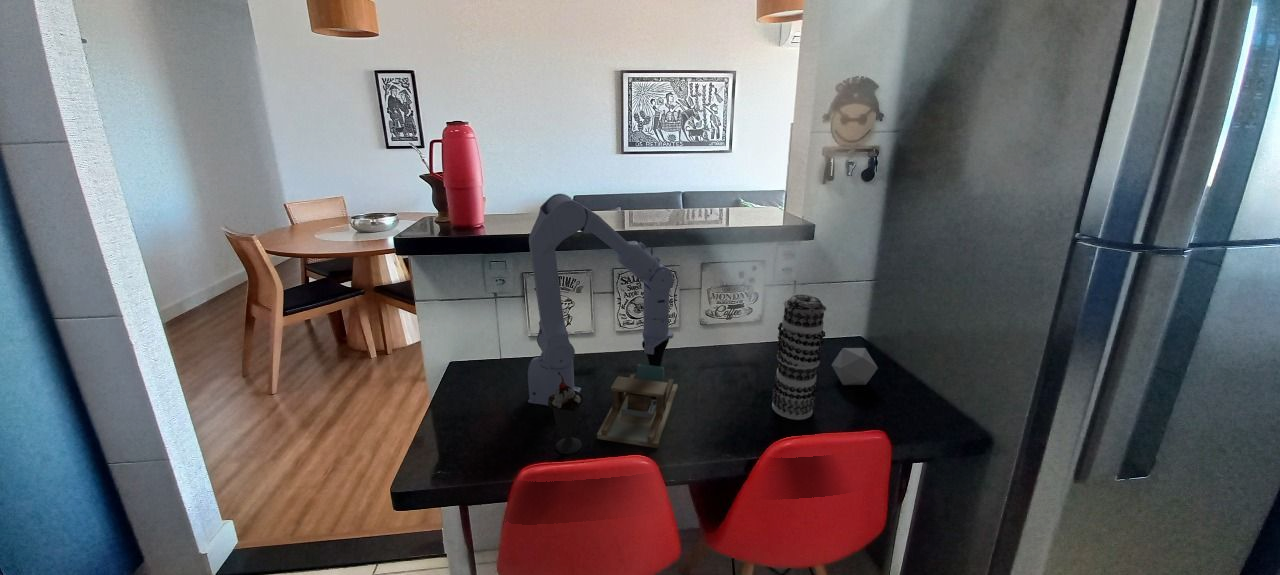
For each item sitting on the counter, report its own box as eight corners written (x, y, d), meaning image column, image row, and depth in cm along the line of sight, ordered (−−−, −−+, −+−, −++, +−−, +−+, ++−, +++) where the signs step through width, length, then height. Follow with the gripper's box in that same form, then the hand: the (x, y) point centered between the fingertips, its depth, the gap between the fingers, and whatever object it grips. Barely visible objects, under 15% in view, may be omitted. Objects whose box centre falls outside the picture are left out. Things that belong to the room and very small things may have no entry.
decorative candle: (766, 415, 105) (778, 303, 96) (773, 393, 113) (784, 288, 104) (812, 425, 101) (829, 310, 93) (815, 401, 110) (830, 294, 101)
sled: (621, 414, 103) (621, 394, 101) (637, 381, 115) (637, 363, 114) (651, 418, 101) (652, 399, 100) (664, 385, 114) (665, 367, 112)
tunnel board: (597, 438, 97) (596, 407, 95) (627, 381, 117) (626, 355, 115) (657, 448, 94) (658, 416, 92) (677, 388, 114) (678, 361, 112)
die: (864, 375, 122) (842, 339, 122) (891, 374, 113) (868, 336, 113) (840, 394, 119) (818, 358, 119) (867, 395, 111) (843, 357, 111)
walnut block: (627, 411, 103) (627, 394, 102) (632, 400, 107) (632, 384, 105) (646, 413, 102) (646, 396, 101) (651, 403, 106) (651, 386, 104)
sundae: (559, 432, 99) (555, 365, 94) (591, 438, 97) (589, 370, 92) (544, 453, 93) (539, 382, 88) (578, 460, 91) (574, 388, 86)
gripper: (667, 329, 106) (666, 385, 111) (679, 304, 119) (677, 356, 124) (635, 326, 108) (635, 381, 112) (650, 302, 121) (649, 352, 125)
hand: (655, 368), depth 118 cm, fingers closed
